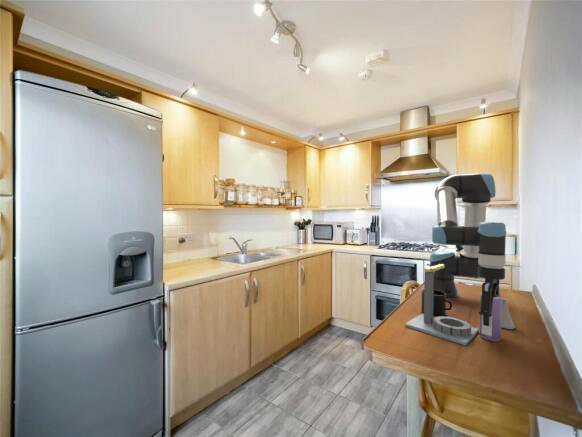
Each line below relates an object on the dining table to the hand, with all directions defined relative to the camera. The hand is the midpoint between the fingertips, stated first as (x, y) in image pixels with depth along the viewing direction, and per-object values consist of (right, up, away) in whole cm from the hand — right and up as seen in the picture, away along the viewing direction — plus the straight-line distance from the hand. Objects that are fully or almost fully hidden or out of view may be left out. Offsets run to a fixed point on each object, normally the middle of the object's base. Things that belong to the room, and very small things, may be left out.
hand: (490, 330), depth 92 cm
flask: (+13, -3, +11) cm, 17 cm away
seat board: (-13, -2, +7) cm, 15 cm away
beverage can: (0, -3, 0) cm, 3 cm away
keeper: (-11, +18, +14) cm, 26 cm away
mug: (-6, -3, +23) cm, 24 cm away
